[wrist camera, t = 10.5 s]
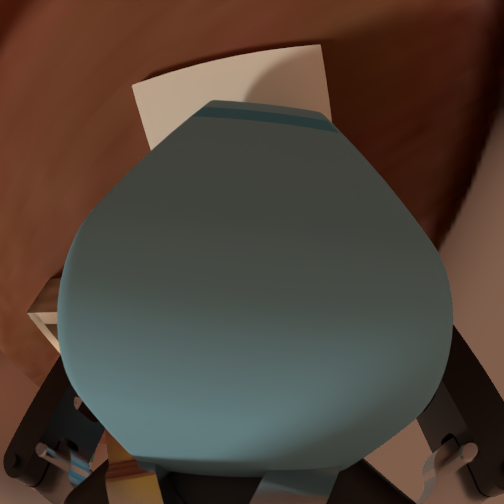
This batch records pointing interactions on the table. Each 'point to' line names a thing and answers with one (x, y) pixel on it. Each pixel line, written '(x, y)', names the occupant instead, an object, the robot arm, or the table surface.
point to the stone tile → (234, 87)
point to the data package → (253, 300)
